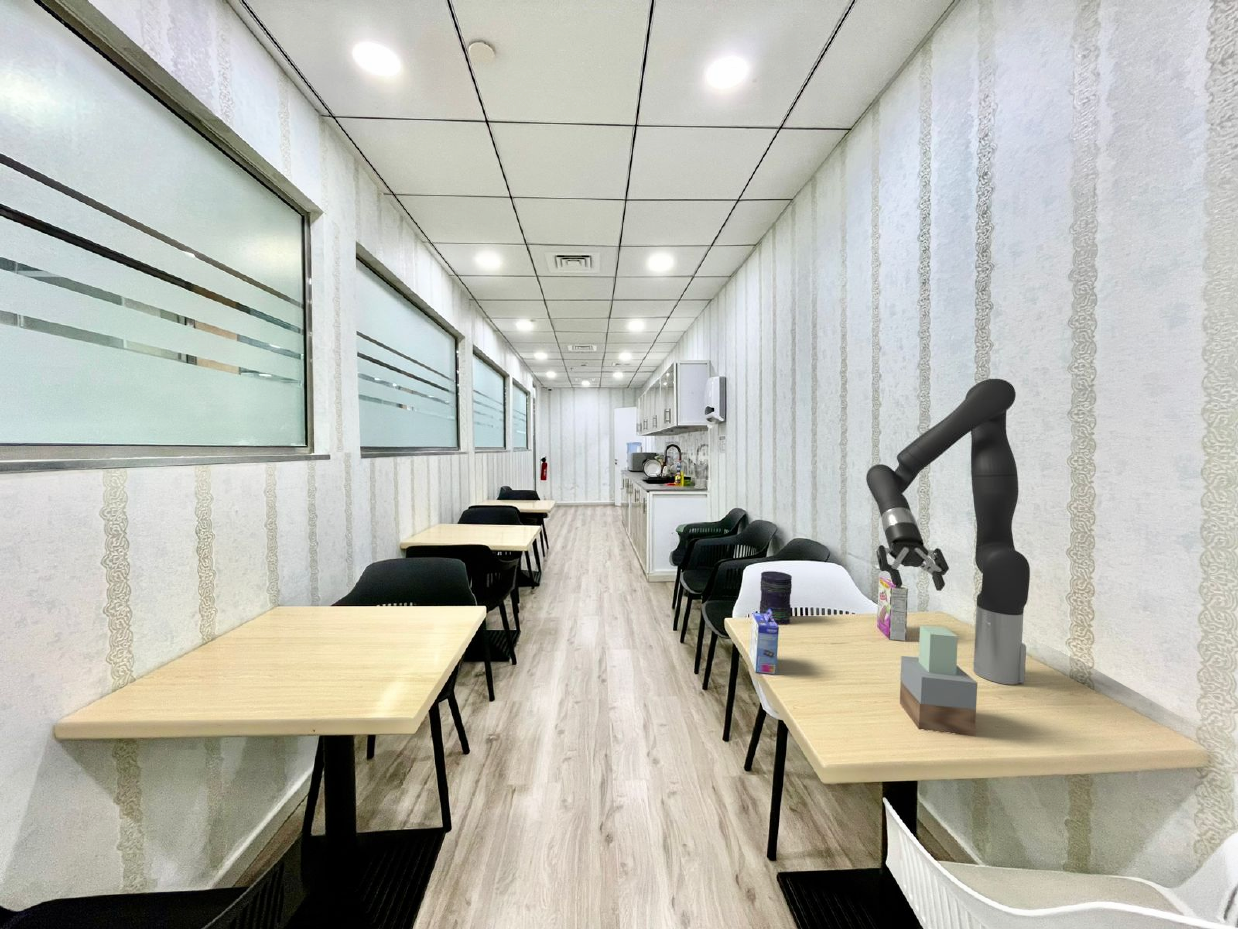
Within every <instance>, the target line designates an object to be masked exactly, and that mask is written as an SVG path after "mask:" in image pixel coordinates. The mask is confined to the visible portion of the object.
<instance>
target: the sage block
mask: <svg viewBox="0 0 1238 929" xmlns="http://www.w3.org/2000/svg"><path fill="white" fill-rule="evenodd" d="M958 639H959V638H958V635H956V634H955V633H954V632H953V631H951V630H950V629H948V627H943V626H935V625H934V626H933V625H932V626H931V625H919V639H918V640H919V641H918V657H919V663H920V664H921V665H922V666H923V667H924V668H925V669H926V670H927V671H928V672H930V673H940V674H949V675H956V666H958V665H957V663H958V662H957V660H958V642H959V641H958Z"/></svg>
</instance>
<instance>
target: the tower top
mask: <svg viewBox="0 0 1238 929" xmlns="http://www.w3.org/2000/svg"><path fill="white" fill-rule="evenodd" d="M899 680H900V683H901V682H902V683H903V684H904V685H905V686H906V687H907V689H908V690H909V691H910V692H911V693H912V694H913V696H914V697H915V698H916V699H917V700H918V701H919V703H920V704H926V705H935V706H944V707H953V708H962V709H971V710H976V711H977V703H978V702H977V699H978V682H977V681H976V680H975V679H974V678H972V677H971V676H970V675H969V674H967V672H966V671H964V670H963V669H962V668H960V666H958V665H957V666H956V675H949V674H940V673H930V672H928V671H927V670H926V669H925V668H924V667H923V666H922V665H921V664H920V663H919V656H907V655H901V656H900V679H899Z"/></svg>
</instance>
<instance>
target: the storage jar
mask: <svg viewBox="0 0 1238 929" xmlns="http://www.w3.org/2000/svg"><path fill="white" fill-rule="evenodd" d="M792 578H793V576H792V575H791V574H789V573H785V572H782V571H772V570H771V571H770V570H768V571H762V572H761V573H760V586H759V587H760V593H761V594H760V602H759V613H762V614H766V612H767V611H768V610H769V609H770V610H771V611H772V613H773V614H772V617H773V619H774V620H775V622H776V623H777V625H778V626H785V625H788V624H790V623H791V614H792V610H791V594H792V589H793V588H792V587H793V586H792V584H793V583H792V581H793V580H792ZM768 614H769V613H768Z"/></svg>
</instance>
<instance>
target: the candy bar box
mask: <svg viewBox="0 0 1238 929" xmlns="http://www.w3.org/2000/svg"><path fill="white" fill-rule="evenodd" d="M877 585H878V586H877V587H878V590H877V618H876V621H877V623H876V626H877V628H878V629H879V631H881V632H882V633H883V635H885V637H887V638H888V640H890V641H897V642H898V641H899V642H906V641H907V623H908V619H907V618H908V595H909V594H908V592H909V591H908V590H909V589H908V587H907V586H906V585H905V584H903V583H902V586H901V587H900V588H896V585H894V584H893V583H892V579H891V577H884V576H883V577H881V576H880V577H878V584H877Z"/></svg>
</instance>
